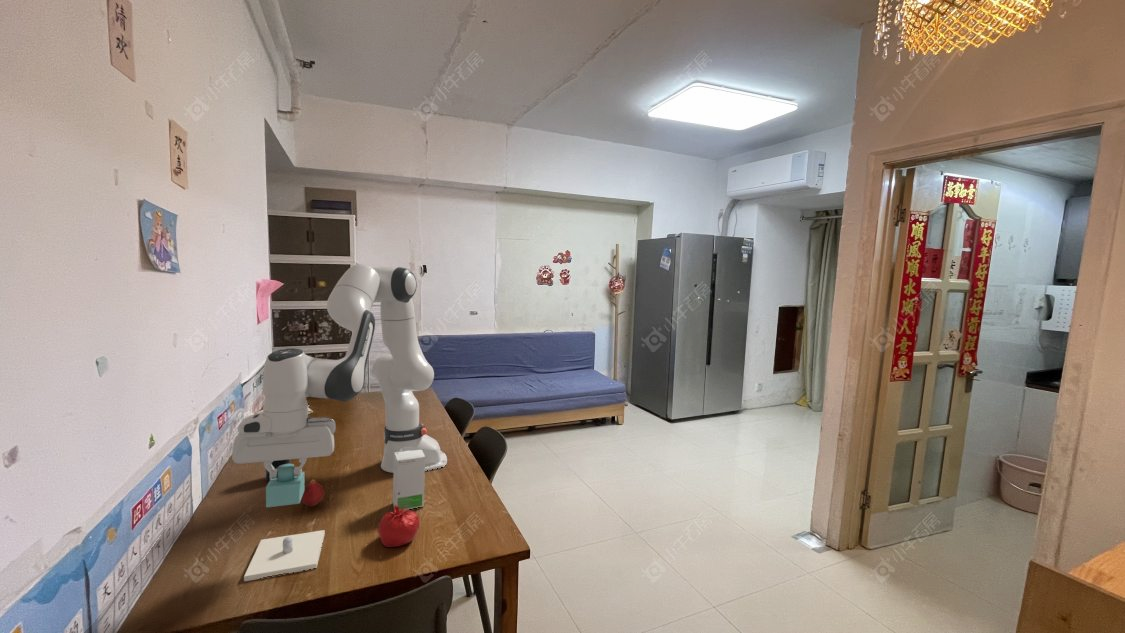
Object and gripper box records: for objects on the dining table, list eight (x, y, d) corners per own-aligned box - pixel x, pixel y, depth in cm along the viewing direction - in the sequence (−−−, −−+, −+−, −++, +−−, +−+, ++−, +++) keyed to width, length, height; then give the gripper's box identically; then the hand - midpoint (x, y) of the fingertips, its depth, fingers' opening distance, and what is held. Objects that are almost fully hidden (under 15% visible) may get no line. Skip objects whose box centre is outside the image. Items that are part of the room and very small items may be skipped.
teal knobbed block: (304, 490, 109) (304, 459, 108) (299, 503, 103) (299, 471, 102) (273, 493, 106) (273, 462, 106) (266, 507, 100) (265, 474, 100)
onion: (308, 514, 124) (307, 486, 123) (297, 507, 127) (296, 480, 126) (328, 505, 129) (327, 479, 128) (317, 499, 132) (316, 473, 131)
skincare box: (395, 513, 126) (395, 461, 125) (392, 502, 132) (392, 452, 131) (425, 507, 130) (425, 456, 129) (421, 496, 136) (421, 448, 135)
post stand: (324, 534, 115) (324, 517, 115) (316, 568, 102) (316, 549, 102) (261, 544, 110) (260, 526, 110) (244, 581, 97) (243, 561, 97)
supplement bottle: (278, 484, 140) (277, 448, 139) (260, 481, 141) (259, 445, 140) (295, 475, 147) (294, 440, 145) (277, 472, 148) (277, 437, 147)
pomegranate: (418, 548, 111) (419, 513, 110) (375, 554, 108) (375, 518, 107) (419, 526, 121) (420, 494, 120) (380, 531, 118) (380, 498, 117)
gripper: (337, 412, 110) (336, 466, 111) (238, 418, 102) (239, 475, 103) (334, 420, 104) (333, 477, 105) (229, 427, 96) (230, 488, 98)
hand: (286, 476), depth 104 cm, fingers closed on teal knobbed block, 3 cm apart
